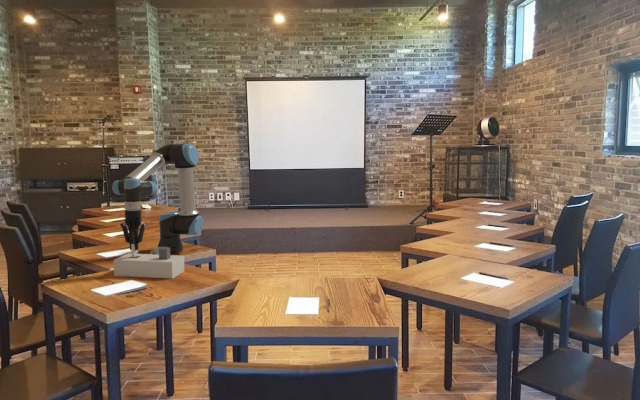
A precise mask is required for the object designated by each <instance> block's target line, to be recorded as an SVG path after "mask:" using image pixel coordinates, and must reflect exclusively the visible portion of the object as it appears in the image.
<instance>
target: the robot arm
mask: <svg viewBox="0 0 640 400" xmlns="http://www.w3.org/2000/svg"><path fill="white" fill-rule="evenodd" d="M199 159H200V154H199V151H198V148H196V146H195V145H193V144H189V143H180V144H179V143H169V144H165V145H162V146H161V147H159V148H157V149H155V151H153V152H152V153H151V154H150V155H149V157H148V158H147V159H146V160H145V161H144V162H142V163H141V164H139V166H137V168H136V169H134V170H133V171H132V172H130V173H129V174H128V175H126V176H125V177H124V178H123V179H119V180H114V181H113V183H112V185H111V189H112V192H113V194H115V195H120V196H123V198H124V210H125V211H124V218H125V219H124V221H123V222H121V223H120V227H121V229H122V232H123V236H124V240H125V243H127V244H128V243H129V250H130V251H131V252H130V253H131V254H132V257H136V256H137V254H138V250H139V244H140V243H142V242H143V238H144V235H145V228H146V227H147V226H148V225H147V223H144V222H143V220H142V210H141V209H142V205H141V204H142V202H141V200H142V199H141V198H142V197H148V196H149V197H150V196H153V195H155V194H156V193H157V190H158V185H157V184H156V182H155V181H152V180H147V179H148V178H149V177H150V176H151V175H153V173H155V172H156V171H157V170H158V169H159V168H163V167H164V166H166V165H174V169H175V170H177V175H178V176H177V177H178V188H179V189H178V190H179V199H180V200H179V201H180V212H179V211H174V212H167V213H162V214H160V215H159V241H158V244H157V247H168V248H170V254H172V253H179V252H183V251H184V244H183V242H182V239H181V235H184V236H185V235H186V236H197V235H199V234H201V232H202V230H203V228H204V224H205V223H204V217H203V216H201V215H200V212H199V210H198V209H197V206H196V194H195V193H196V191H195V180H194V178H195V177H194V169H195V168H196V165H197V164H198V163H199ZM145 180H146V181H145Z"/></svg>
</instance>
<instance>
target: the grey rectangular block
mask: <svg viewBox="0 0 640 400" xmlns="http://www.w3.org/2000/svg"><path fill="white" fill-rule="evenodd" d="M131 256H132V253H131V252H130V253H127V254H124V255H121V256H119V257H117V258H114V259H113V272H114V273H113V274H114V275H113V276H115V277H132V278H134V277H135V278H151V279H152V278H153V279H174V278H176V277H177V276H179V275H181V274H182V273H184V272H185V255H177V254H176V255H175V254H173V255H171V254H170V258H169V259H167V260H164V259H159V255H155V253H153V254H150V253H137V256H140V257H138V258H129V257H131Z"/></svg>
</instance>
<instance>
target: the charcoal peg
mask: <svg viewBox="0 0 640 400" xmlns="http://www.w3.org/2000/svg"><path fill="white" fill-rule="evenodd" d="M170 255H171V253H170V248H160V249H159V259H164V260H167V259H169V258H170Z"/></svg>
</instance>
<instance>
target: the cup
mask: <svg viewBox="0 0 640 400" xmlns="http://www.w3.org/2000/svg"><path fill="white" fill-rule="evenodd" d="M160 248H168V247H158V246H157V247H154V248H153V249H152V250H151V251H150V253H149V254H154V255H159V249H160Z"/></svg>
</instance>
